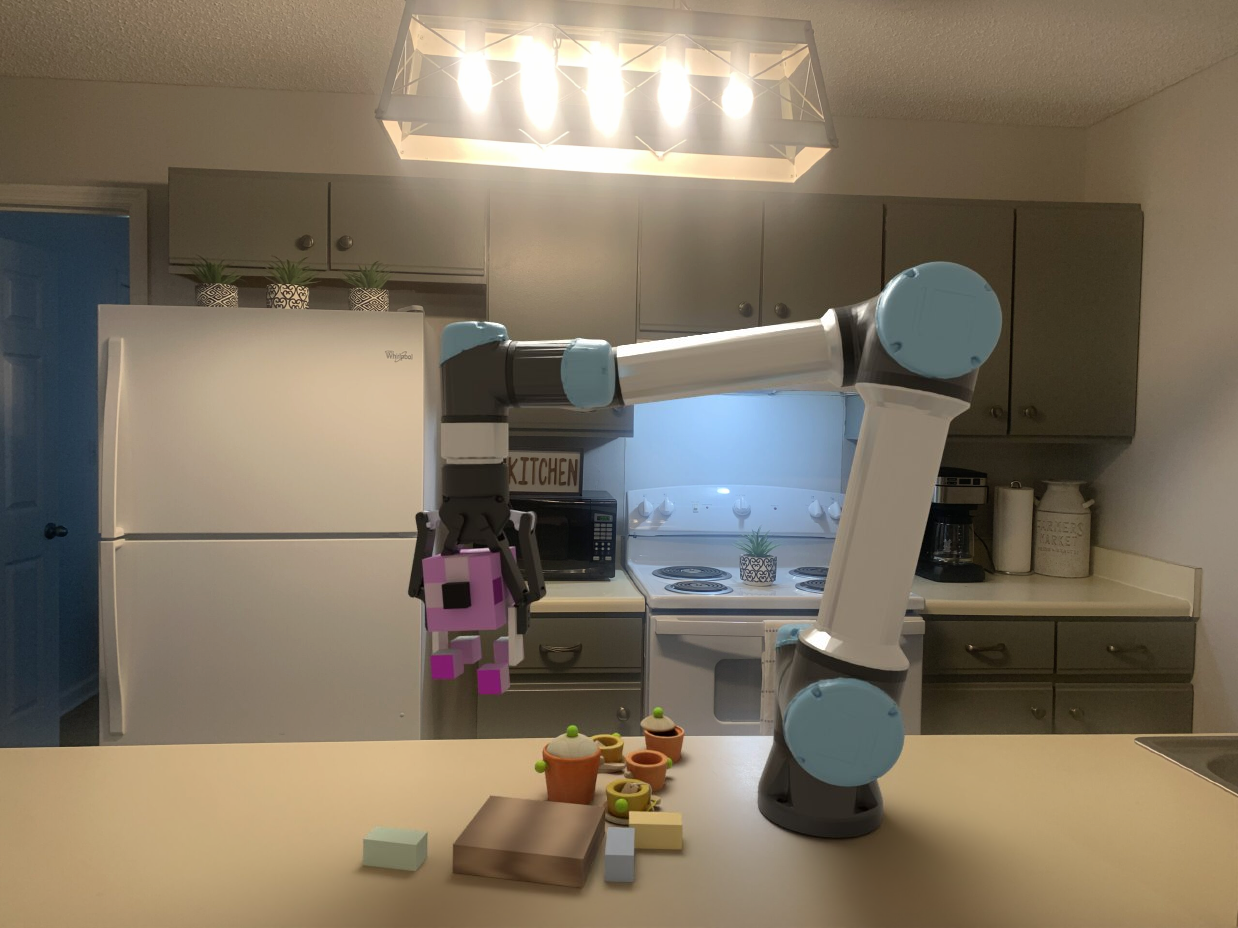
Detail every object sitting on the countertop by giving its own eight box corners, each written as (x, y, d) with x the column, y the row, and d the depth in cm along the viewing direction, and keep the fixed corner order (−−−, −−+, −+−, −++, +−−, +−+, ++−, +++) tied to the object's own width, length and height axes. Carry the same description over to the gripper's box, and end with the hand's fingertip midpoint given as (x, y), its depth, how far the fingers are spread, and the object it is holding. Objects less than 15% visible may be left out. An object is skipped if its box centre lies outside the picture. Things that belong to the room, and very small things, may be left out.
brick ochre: (680, 837, 95) (680, 812, 95) (681, 851, 92) (682, 824, 92) (628, 836, 95) (629, 811, 95) (628, 849, 92) (629, 823, 92)
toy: (497, 697, 87) (485, 557, 87) (428, 698, 89) (416, 561, 89) (529, 670, 98) (518, 545, 98) (466, 671, 99) (456, 548, 99)
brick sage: (427, 858, 89) (427, 831, 89) (415, 872, 86) (416, 844, 86) (375, 852, 90) (376, 825, 90) (362, 866, 88) (363, 838, 87)
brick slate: (607, 853, 91) (607, 826, 91) (634, 854, 91) (634, 827, 91) (604, 882, 85) (604, 854, 85) (633, 883, 85) (633, 855, 85)
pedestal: (605, 832, 96) (605, 806, 96) (582, 887, 84) (583, 858, 84) (490, 819, 98) (490, 795, 98) (452, 872, 86) (452, 844, 86)
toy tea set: (646, 837, 95) (648, 755, 95) (524, 815, 100) (525, 737, 100) (697, 755, 120) (699, 690, 120) (598, 741, 125) (599, 678, 125)
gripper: (574, 460, 94) (575, 655, 95) (402, 460, 98) (405, 648, 99) (557, 462, 87) (559, 674, 88) (372, 462, 91) (376, 665, 92)
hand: (477, 660), depth 93 cm, fingers closed on toy, 8 cm apart
